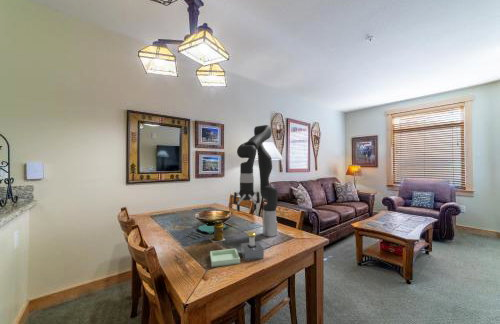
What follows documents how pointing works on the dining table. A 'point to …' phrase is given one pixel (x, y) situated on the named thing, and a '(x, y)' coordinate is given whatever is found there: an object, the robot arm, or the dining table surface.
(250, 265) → the dining table surface
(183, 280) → the dining table surface
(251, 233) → the pin
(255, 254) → the socket block
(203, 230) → the cutlery set
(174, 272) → the dining table surface
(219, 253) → the tray
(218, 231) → the condiment
